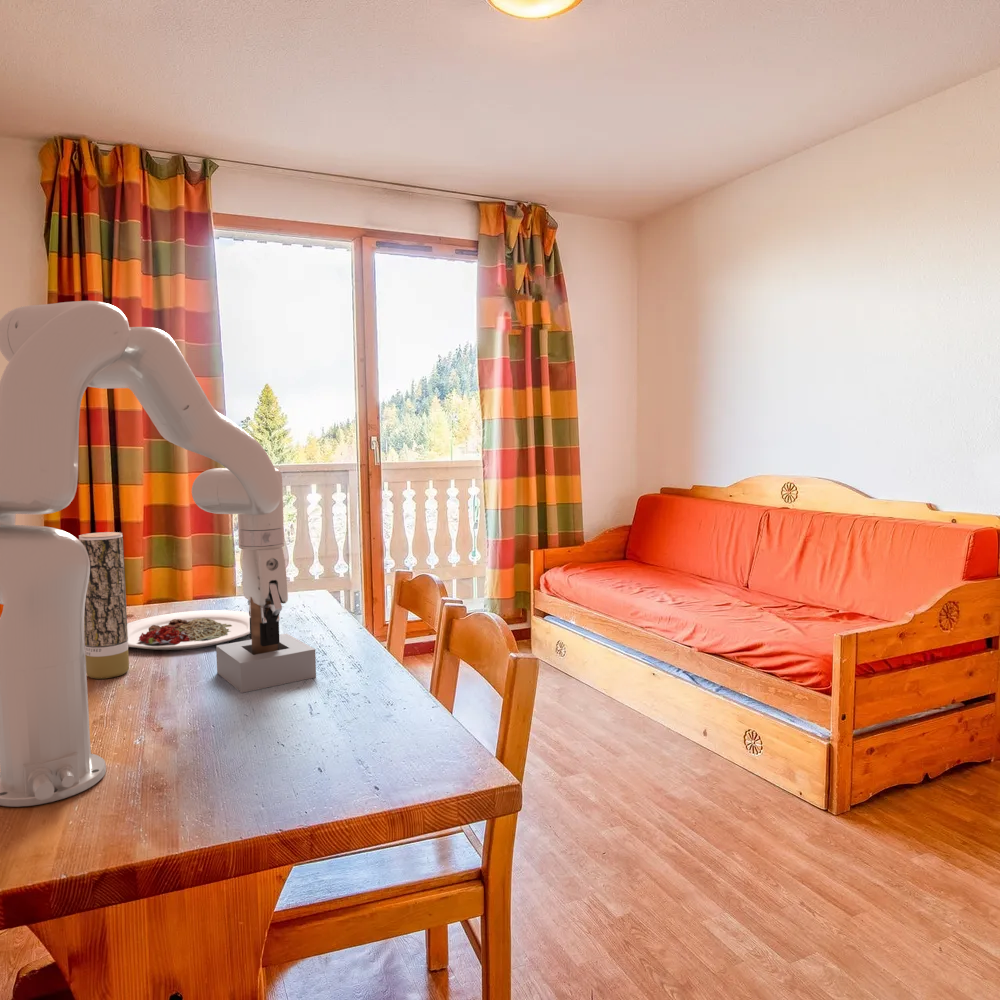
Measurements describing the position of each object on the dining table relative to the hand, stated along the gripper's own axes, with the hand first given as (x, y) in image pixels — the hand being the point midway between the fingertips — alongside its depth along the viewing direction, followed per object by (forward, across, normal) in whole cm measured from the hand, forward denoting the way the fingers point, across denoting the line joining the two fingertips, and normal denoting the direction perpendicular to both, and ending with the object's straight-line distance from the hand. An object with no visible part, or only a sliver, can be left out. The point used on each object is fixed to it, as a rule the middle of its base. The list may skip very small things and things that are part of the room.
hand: (264, 640), depth 132 cm
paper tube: (+7, +18, +22) cm, 29 cm away
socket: (+6, 0, 0) cm, 6 cm away
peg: (+5, 0, 0) cm, 5 cm away
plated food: (+7, +37, +3) cm, 38 cm away
